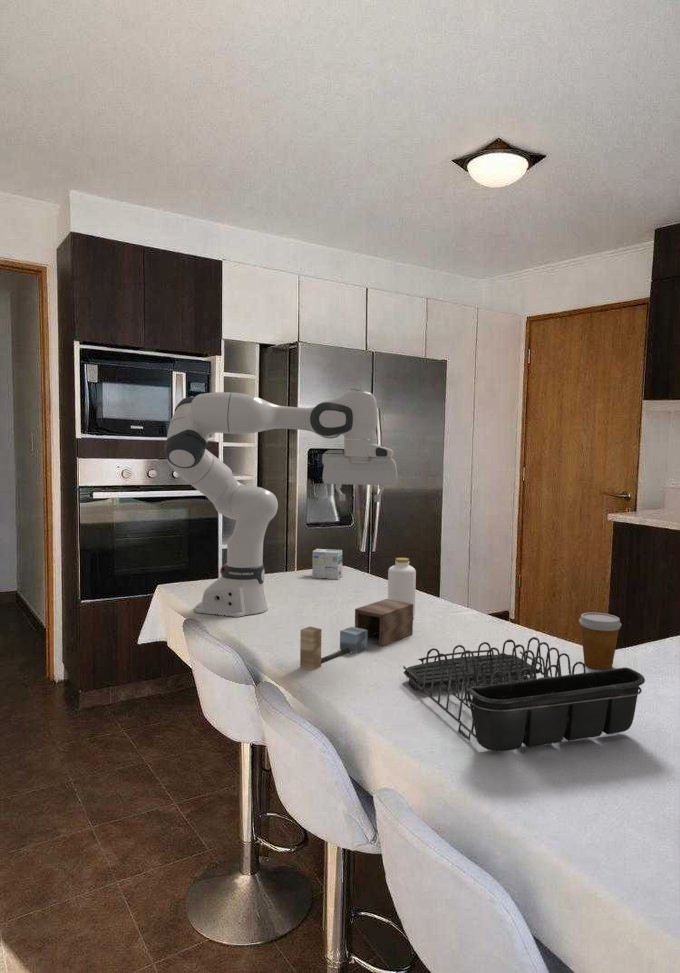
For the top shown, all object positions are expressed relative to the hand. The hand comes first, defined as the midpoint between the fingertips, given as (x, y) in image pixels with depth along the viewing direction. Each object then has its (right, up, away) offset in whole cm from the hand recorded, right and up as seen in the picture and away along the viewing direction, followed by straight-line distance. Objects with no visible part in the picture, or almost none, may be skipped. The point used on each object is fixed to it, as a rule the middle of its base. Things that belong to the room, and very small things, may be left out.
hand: (359, 501), depth 181 cm
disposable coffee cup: (+57, -40, -19) cm, 72 cm away
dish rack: (+28, -41, -44) cm, 67 cm away
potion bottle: (+13, -36, +23) cm, 45 cm away
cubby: (+6, -37, +2) cm, 38 cm away
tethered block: (-7, -38, -16) cm, 42 cm away
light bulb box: (-10, -32, +80) cm, 87 cm away
